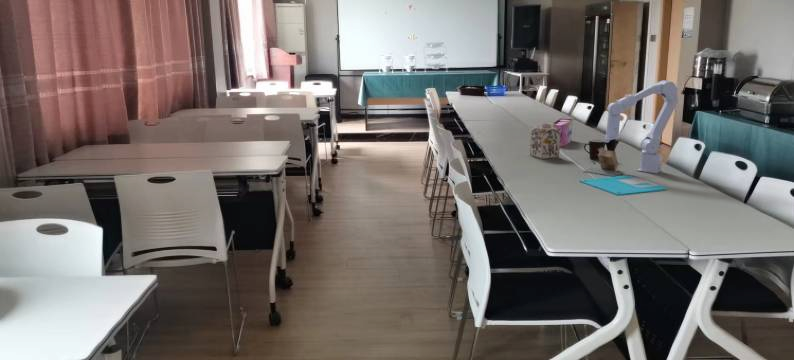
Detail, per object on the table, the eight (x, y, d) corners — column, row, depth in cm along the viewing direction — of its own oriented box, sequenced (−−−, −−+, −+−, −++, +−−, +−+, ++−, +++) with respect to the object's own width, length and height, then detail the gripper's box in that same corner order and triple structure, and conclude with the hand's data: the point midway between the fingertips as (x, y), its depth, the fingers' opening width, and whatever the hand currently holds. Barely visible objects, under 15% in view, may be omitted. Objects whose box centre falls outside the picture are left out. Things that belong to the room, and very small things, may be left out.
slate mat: (623, 173, 297) (623, 172, 297) (615, 176, 290) (615, 175, 290) (591, 168, 308) (591, 167, 307) (583, 171, 300) (583, 170, 300)
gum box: (563, 147, 364) (565, 124, 361) (550, 146, 367) (551, 123, 364) (571, 140, 385) (573, 119, 382) (558, 139, 388) (560, 118, 385)
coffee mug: (602, 157, 334) (603, 139, 331) (606, 160, 326) (607, 142, 323) (580, 157, 335) (581, 138, 333) (583, 160, 327) (584, 141, 324)
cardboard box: (618, 165, 303) (615, 150, 297) (615, 171, 301) (612, 157, 295) (604, 163, 308) (601, 149, 301) (601, 169, 306) (597, 155, 299)
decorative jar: (559, 157, 333) (561, 124, 329) (541, 159, 329) (543, 125, 325) (546, 153, 344) (548, 121, 340) (528, 155, 340) (530, 122, 335)
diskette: (578, 182, 281) (578, 180, 281) (628, 177, 291) (628, 175, 291) (617, 196, 257) (617, 194, 257) (670, 190, 267) (670, 188, 267)
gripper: (610, 125, 307) (608, 151, 311) (598, 128, 297) (596, 156, 300) (624, 126, 303) (622, 153, 306) (613, 130, 292) (610, 158, 295)
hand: (610, 155), depth 303 cm, fingers closed
